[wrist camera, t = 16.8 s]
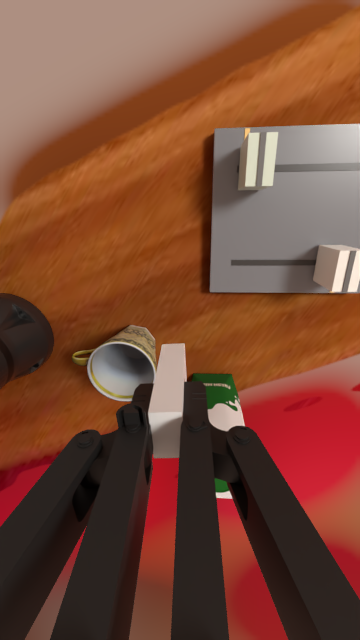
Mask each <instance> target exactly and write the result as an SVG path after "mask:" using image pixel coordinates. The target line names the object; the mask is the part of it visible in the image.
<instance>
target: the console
mask: <svg viewBox="0 0 360 640" xmlns="http://www.w3.org/2000/svg"><path fill="white" fill-rule="evenodd" d="M261 132H278V140H277V150H276V159H275V169H274V178H273V186H271V187H268V188H265V189H262V190H238V180H239V164H240V148H241V145H242V143H243V141H244V140H245V138H246V137H247V135H248V133H261ZM319 245H345V246H349V247H353V248H358V249H360V124H338V125H308V126H277V127H247V128H217V129H215V130H214V151H213V184H212V218H211V251H210V285H209V290H210V292H255V293H360V280H359V284H358V289H357V292H331V291H330V290H328V289H326V288H325V287H323V286H321V285H320V284H318V283H316V282H315V281H313V276H314V271H315V265H316V259H317V254H318V248H319Z"/></svg>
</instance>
